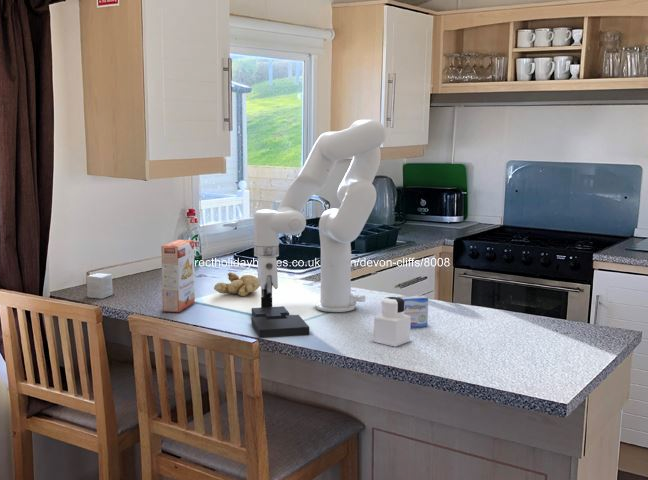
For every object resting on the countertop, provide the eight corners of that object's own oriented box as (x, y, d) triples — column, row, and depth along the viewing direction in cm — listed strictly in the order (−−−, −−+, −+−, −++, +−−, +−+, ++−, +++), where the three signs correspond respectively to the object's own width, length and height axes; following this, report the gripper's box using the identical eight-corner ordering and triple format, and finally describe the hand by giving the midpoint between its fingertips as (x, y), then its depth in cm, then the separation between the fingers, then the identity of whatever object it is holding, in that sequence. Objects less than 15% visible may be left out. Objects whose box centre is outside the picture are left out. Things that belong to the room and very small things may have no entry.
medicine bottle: (388, 336, 209) (389, 294, 207) (410, 341, 205) (411, 297, 203) (373, 342, 204) (374, 298, 202) (395, 347, 200) (396, 302, 197)
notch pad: (298, 321, 225) (298, 314, 224) (309, 334, 211) (309, 326, 211) (251, 324, 221) (251, 317, 221) (259, 337, 208) (259, 329, 208)
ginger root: (271, 285, 268) (268, 264, 265) (257, 306, 254) (254, 284, 251) (229, 284, 272) (226, 263, 269) (213, 304, 258) (210, 283, 255)
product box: (98, 293, 261) (97, 272, 259) (113, 295, 259) (112, 274, 257) (87, 297, 255) (85, 276, 254) (102, 299, 253) (101, 277, 252)
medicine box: (402, 328, 217) (402, 299, 216) (396, 325, 222) (397, 295, 220) (427, 327, 219) (428, 297, 218) (421, 323, 224) (422, 294, 222)
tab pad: (283, 313, 235) (283, 306, 235) (291, 322, 224) (291, 315, 224) (251, 314, 233) (251, 307, 232) (257, 324, 222) (257, 316, 221)
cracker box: (180, 313, 234) (178, 246, 231) (161, 312, 236) (159, 245, 232) (196, 302, 248) (194, 239, 244) (179, 301, 249) (177, 238, 245)
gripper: (283, 254, 225) (283, 314, 229) (274, 246, 240) (274, 303, 243) (257, 255, 224) (258, 316, 227) (250, 247, 238) (251, 304, 241)
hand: (266, 309), depth 235 cm, fingers closed
